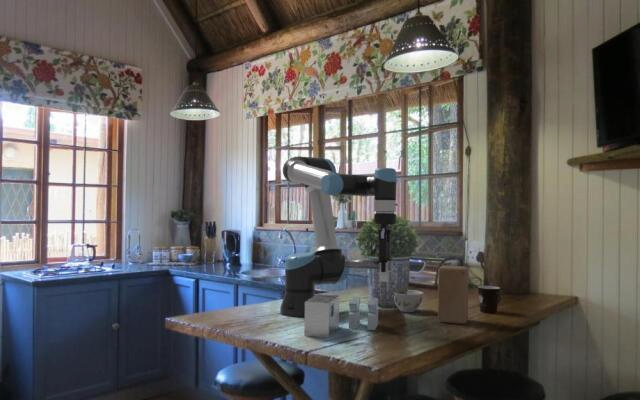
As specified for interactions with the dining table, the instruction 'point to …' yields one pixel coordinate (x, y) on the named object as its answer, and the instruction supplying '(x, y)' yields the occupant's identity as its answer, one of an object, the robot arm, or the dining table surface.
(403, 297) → the teacup
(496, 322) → the dining table surface
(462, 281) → the wooden block
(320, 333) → the grey box
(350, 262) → the axle
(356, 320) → the v stand
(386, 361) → the dining table surface
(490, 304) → the coffee mug
